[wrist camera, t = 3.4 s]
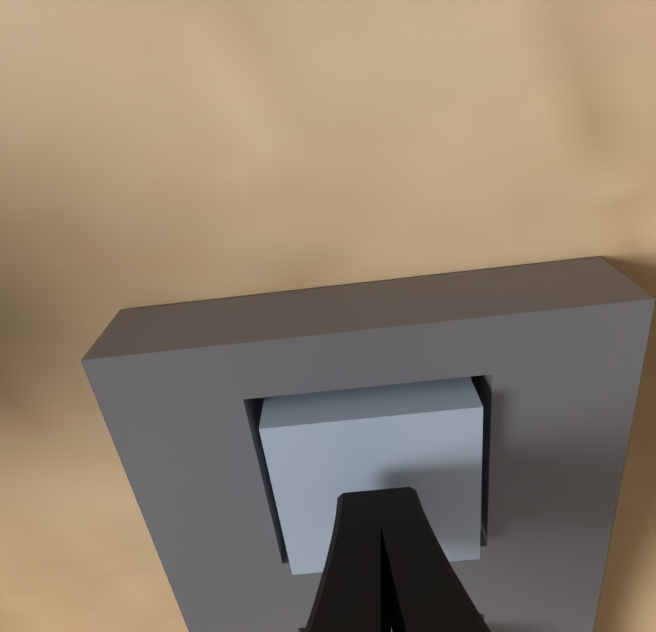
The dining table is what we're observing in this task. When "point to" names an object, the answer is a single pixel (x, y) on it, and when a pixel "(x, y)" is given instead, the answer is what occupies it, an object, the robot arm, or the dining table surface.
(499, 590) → the keypad
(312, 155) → the dining table surface
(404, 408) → the slate key
